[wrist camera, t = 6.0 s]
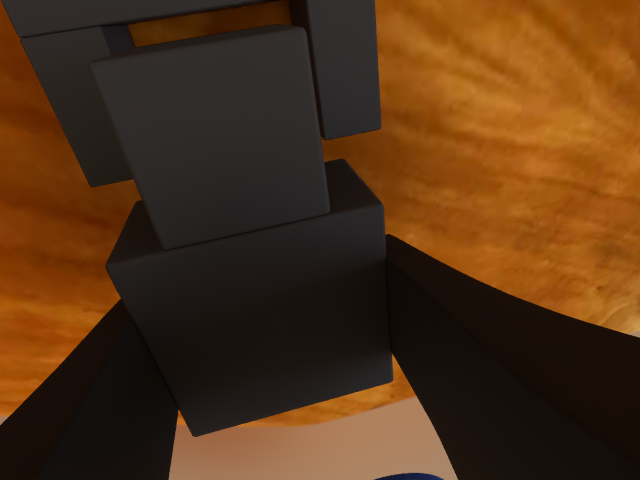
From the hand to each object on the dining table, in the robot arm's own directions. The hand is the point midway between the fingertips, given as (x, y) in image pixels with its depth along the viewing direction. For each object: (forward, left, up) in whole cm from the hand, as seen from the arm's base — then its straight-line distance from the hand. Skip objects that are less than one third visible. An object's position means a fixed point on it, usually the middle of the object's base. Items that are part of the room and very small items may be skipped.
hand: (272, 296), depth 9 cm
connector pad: (+1, +1, -1) cm, 2 cm away
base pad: (+19, +13, -6) cm, 23 cm away
